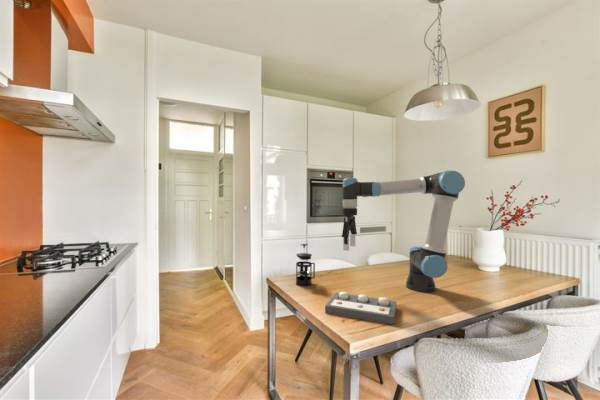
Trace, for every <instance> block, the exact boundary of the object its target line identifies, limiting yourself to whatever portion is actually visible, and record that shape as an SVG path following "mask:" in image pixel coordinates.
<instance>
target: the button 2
mask: <svg viewBox="0 0 600 400" xmlns="http://www.w3.org/2000/svg"><path fill="white" fill-rule="evenodd" d="M378 299H379V305H384V306H389V300H390V299H389V298H388V297H386V296H383V297H382V296H381V297H378Z"/></svg>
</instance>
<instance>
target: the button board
mask: <svg viewBox="0 0 600 400" xmlns="http://www.w3.org/2000/svg"><path fill="white" fill-rule="evenodd" d="M324 306H325V307H324V309H325V310H324V311H325V312H324V313H326V314H332V315H336V316H343V317H349V318H354V319H360V320H366V321H370V322H371V321H372V322H378V323H383V324H387V325H388V324H389V325H395V318H396V313H397V300H391V299H389V306H384V305H379V298H375V297H369V296H368V303H364V302H358V295H354V294H349V295H348V300H344V299H339V292H335V293H334V295H332V297H331V298H330V299H329V300H328V302H327V303H326V304H325V305H324Z"/></svg>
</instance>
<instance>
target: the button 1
mask: <svg viewBox="0 0 600 400" xmlns="http://www.w3.org/2000/svg"><path fill="white" fill-rule="evenodd" d="M338 293H339V299H344V300H348V295H350V294H349V292H347V291H340V292H338Z"/></svg>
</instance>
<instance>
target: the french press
mask: <svg viewBox="0 0 600 400" xmlns="http://www.w3.org/2000/svg"><path fill="white" fill-rule="evenodd" d="M300 246H303V247H302V248H303V249H305V248H306V246H308V244H307V243H300ZM312 256H313V255H312V254H311V253H308V252H307V253H305V252H301V253H296V257H297V258H299V259H300V260H301V261H297V262H296V264H295V268H296V269H295V285H296V286H298V287H299V286H300V287H308V286H311V285H312V284H313V282H312V279H315V277H316V273H315V269H316V266H315V265H316V264H315V262H311V261H309V260H311V259H312ZM312 265H313V266H312ZM298 267H299V268H300V269H299V271H298ZM309 267H310V271H308V270H309V269H308V268H309ZM312 268H313V269H312ZM312 270H313V271H312ZM312 273H313V274H312ZM312 275H313V276H312Z"/></svg>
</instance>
